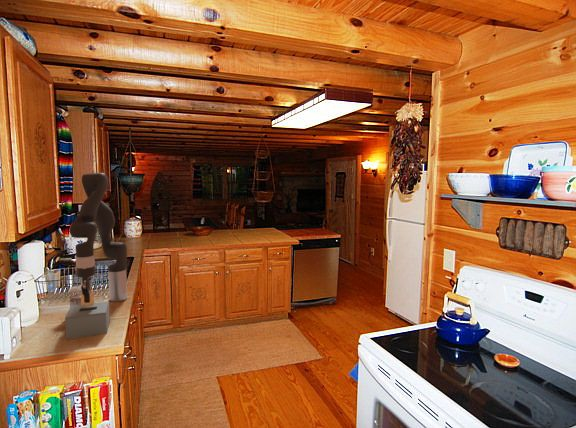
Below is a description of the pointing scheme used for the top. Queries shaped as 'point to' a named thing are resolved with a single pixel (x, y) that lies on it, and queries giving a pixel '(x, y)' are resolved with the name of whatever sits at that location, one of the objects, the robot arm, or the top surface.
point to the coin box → (87, 320)
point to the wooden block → (90, 300)
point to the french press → (76, 298)
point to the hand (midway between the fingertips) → (87, 301)
